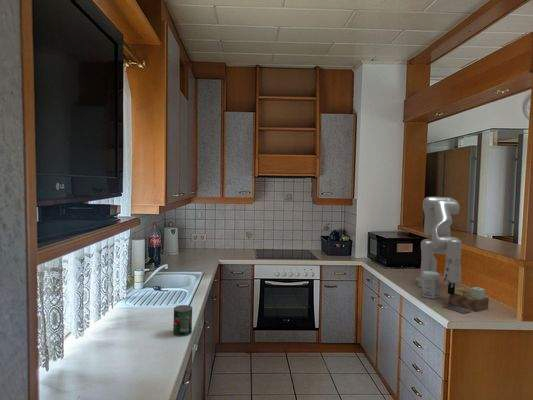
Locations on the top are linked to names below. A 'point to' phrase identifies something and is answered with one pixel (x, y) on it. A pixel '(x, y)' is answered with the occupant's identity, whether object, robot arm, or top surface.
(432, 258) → the robot arm
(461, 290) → the t bolt
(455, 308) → the mat
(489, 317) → the top surface
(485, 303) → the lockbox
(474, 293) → the cover
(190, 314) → the canned tomato
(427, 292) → the supplement tub
